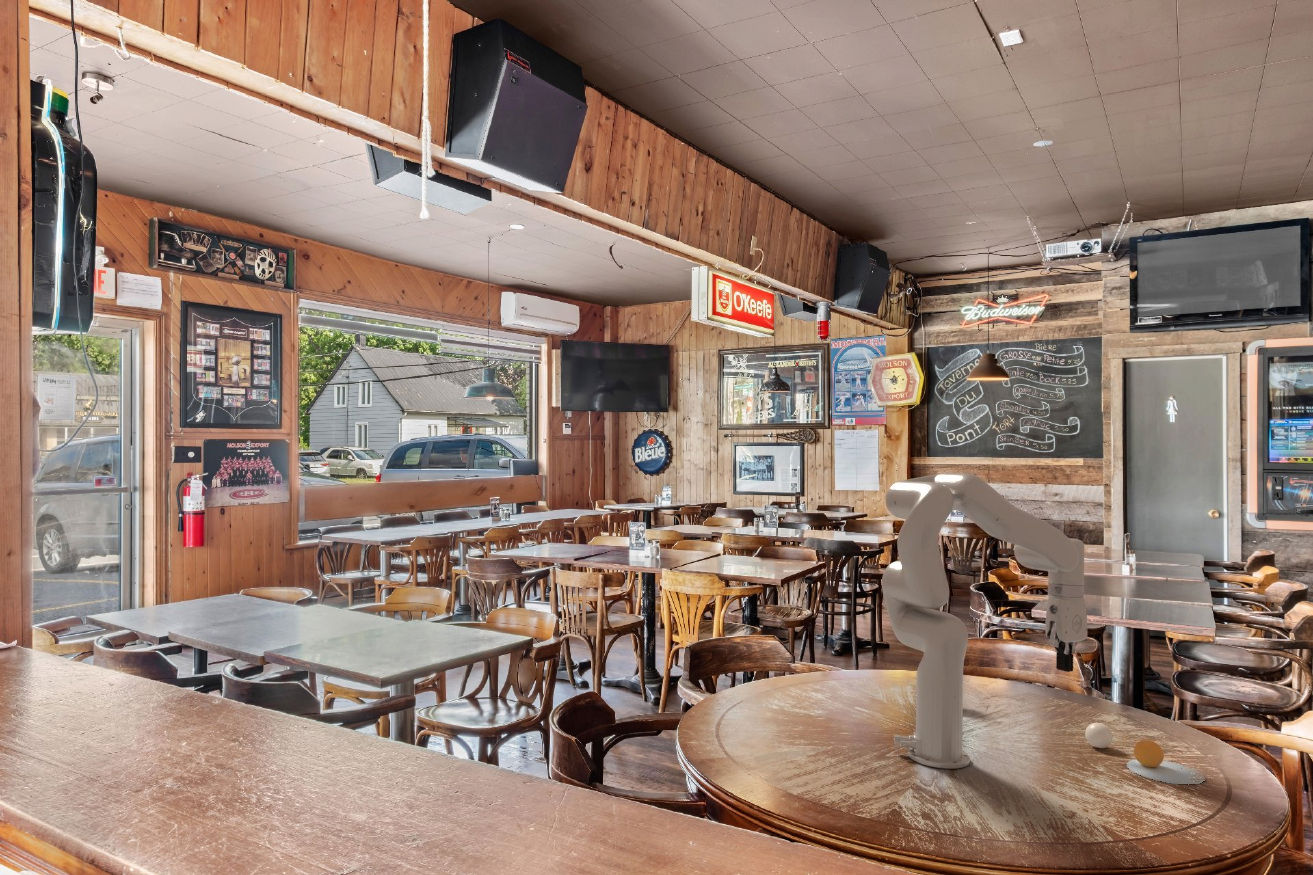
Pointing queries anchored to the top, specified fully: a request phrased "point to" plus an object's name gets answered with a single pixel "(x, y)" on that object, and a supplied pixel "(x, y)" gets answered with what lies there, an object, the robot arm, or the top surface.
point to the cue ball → (1098, 735)
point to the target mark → (1166, 772)
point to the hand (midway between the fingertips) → (1064, 670)
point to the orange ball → (1148, 753)
